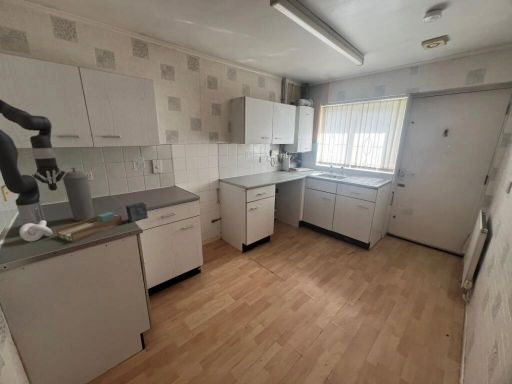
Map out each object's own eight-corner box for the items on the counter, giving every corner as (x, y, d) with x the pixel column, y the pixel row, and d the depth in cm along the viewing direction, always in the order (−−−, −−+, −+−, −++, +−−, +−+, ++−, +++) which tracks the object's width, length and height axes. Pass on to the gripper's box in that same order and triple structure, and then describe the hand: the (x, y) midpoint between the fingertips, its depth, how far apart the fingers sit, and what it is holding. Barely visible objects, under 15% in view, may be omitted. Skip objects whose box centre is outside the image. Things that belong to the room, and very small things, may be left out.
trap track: (58, 237, 115) (56, 229, 114) (107, 219, 139) (106, 213, 138) (74, 242, 110) (71, 233, 109) (122, 223, 134) (121, 216, 133)
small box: (144, 215, 147) (142, 201, 144) (148, 218, 143) (146, 203, 140) (127, 220, 139) (125, 205, 136) (131, 222, 135) (129, 207, 132)
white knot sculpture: (60, 232, 120) (57, 218, 118) (40, 243, 109) (36, 227, 107) (40, 233, 120) (36, 218, 118) (18, 243, 109) (13, 227, 106)
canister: (68, 222, 134) (55, 169, 125) (78, 215, 146) (67, 166, 137) (91, 220, 138) (79, 168, 129) (99, 214, 149) (89, 166, 140)
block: (98, 221, 129) (97, 215, 128) (110, 217, 135) (109, 211, 134) (103, 222, 127) (102, 216, 126) (115, 219, 133) (114, 213, 132)
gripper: (56, 155, 112) (64, 186, 116) (23, 158, 100) (32, 192, 104) (65, 156, 109) (72, 188, 114) (31, 158, 97) (41, 194, 102)
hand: (53, 190), depth 109 cm, fingers closed
